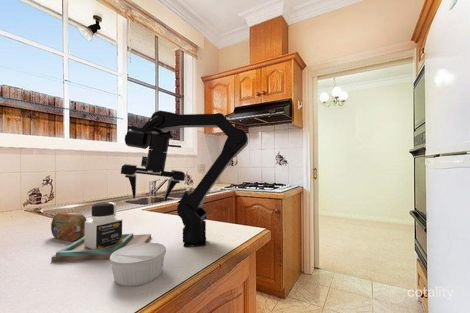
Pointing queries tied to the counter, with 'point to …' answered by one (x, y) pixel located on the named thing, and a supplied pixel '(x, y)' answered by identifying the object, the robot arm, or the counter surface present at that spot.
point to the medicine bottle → (103, 227)
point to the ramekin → (137, 263)
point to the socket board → (84, 253)
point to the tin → (68, 226)
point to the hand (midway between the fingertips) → (149, 199)
